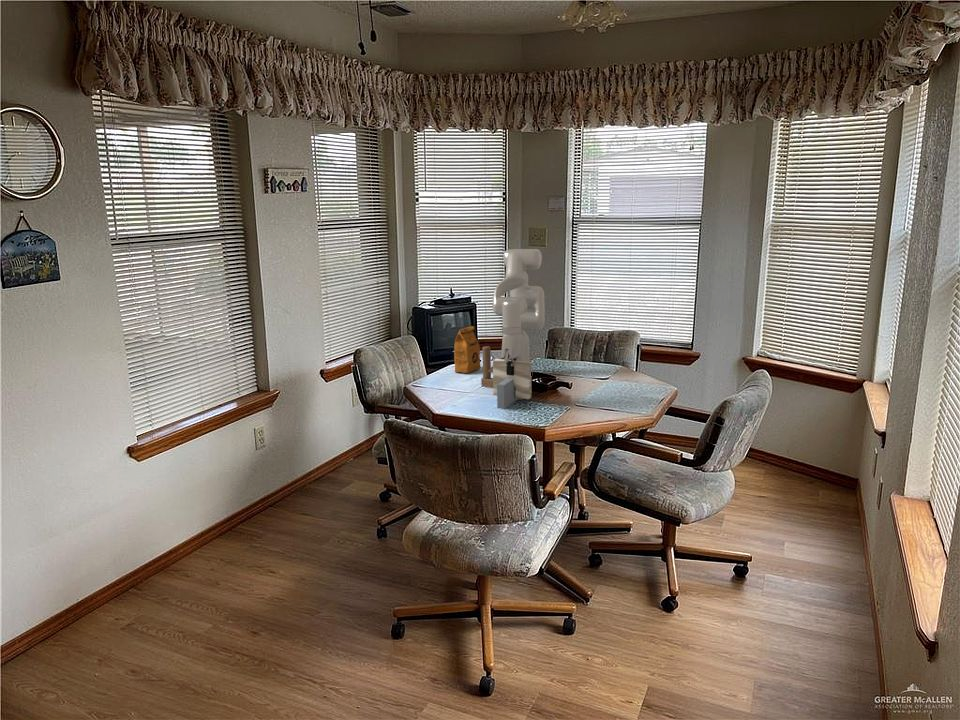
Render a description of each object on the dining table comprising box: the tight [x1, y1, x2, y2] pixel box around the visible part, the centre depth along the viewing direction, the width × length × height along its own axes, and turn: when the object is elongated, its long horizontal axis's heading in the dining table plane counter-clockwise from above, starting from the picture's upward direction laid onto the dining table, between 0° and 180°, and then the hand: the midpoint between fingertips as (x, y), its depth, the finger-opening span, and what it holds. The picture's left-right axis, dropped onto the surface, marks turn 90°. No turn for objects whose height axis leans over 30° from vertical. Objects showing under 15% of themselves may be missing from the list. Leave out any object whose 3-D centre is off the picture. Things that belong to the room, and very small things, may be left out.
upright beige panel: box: [492, 358, 532, 400], centre depth 280 cm, size 3×16×15 cm, turn 65°
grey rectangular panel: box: [496, 378, 520, 410], centre depth 281 cm, size 24×3×10 cm, turn 155°
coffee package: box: [453, 325, 481, 374], centre depth 328 cm, size 10×12×22 cm
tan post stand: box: [480, 345, 505, 389], centre depth 301 cm, size 4×11×18 cm, turn 52°
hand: (512, 373), depth 279 cm, fingers closed on upright beige panel, 3 cm apart
